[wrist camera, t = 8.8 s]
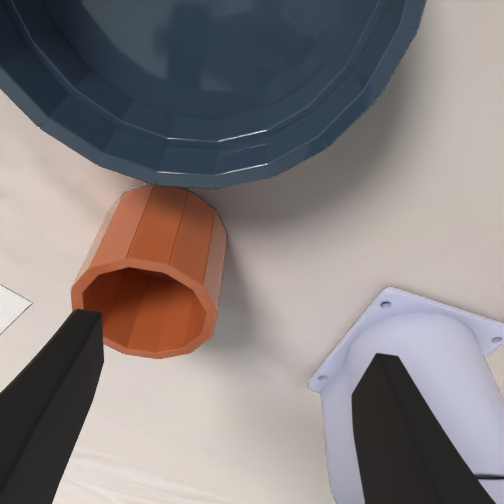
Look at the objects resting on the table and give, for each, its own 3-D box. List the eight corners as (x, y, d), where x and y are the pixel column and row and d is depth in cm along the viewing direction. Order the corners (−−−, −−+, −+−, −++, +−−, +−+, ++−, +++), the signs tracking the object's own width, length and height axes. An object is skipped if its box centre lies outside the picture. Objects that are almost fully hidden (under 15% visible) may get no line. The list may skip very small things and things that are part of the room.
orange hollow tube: (216, 286, 23) (205, 366, 20) (107, 268, 23) (74, 347, 19) (235, 198, 20) (226, 274, 16) (107, 174, 19) (66, 247, 15)
